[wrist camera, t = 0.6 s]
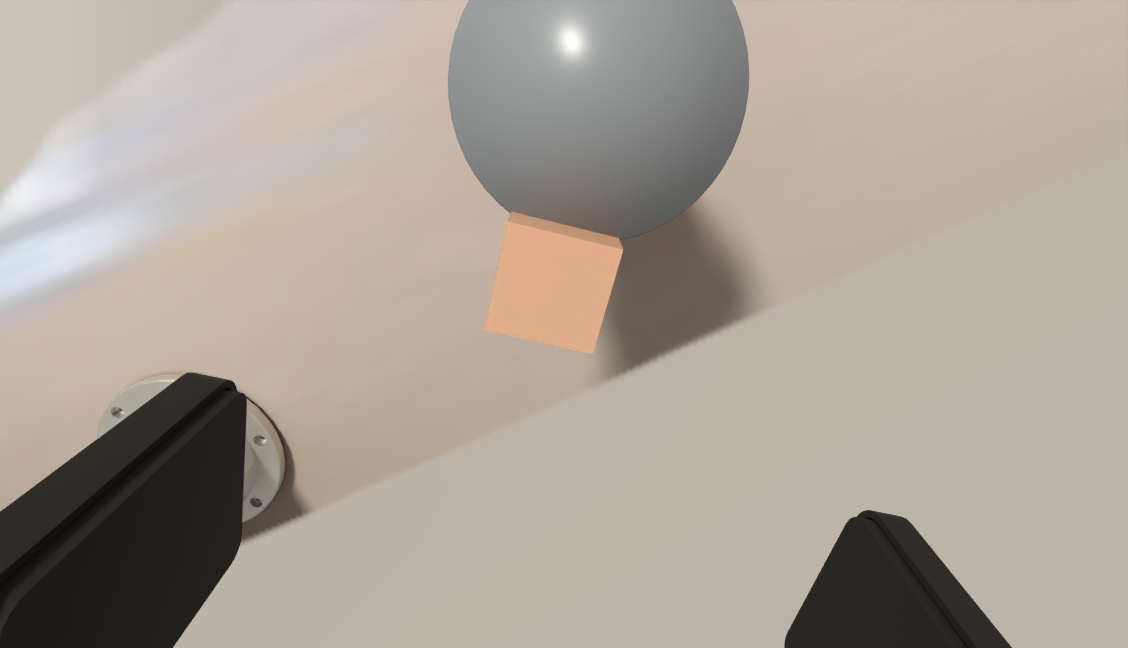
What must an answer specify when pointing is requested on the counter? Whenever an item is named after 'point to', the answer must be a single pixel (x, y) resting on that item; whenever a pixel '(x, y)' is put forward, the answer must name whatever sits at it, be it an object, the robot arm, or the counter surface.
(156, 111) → the counter surface
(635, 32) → the gray paddle
